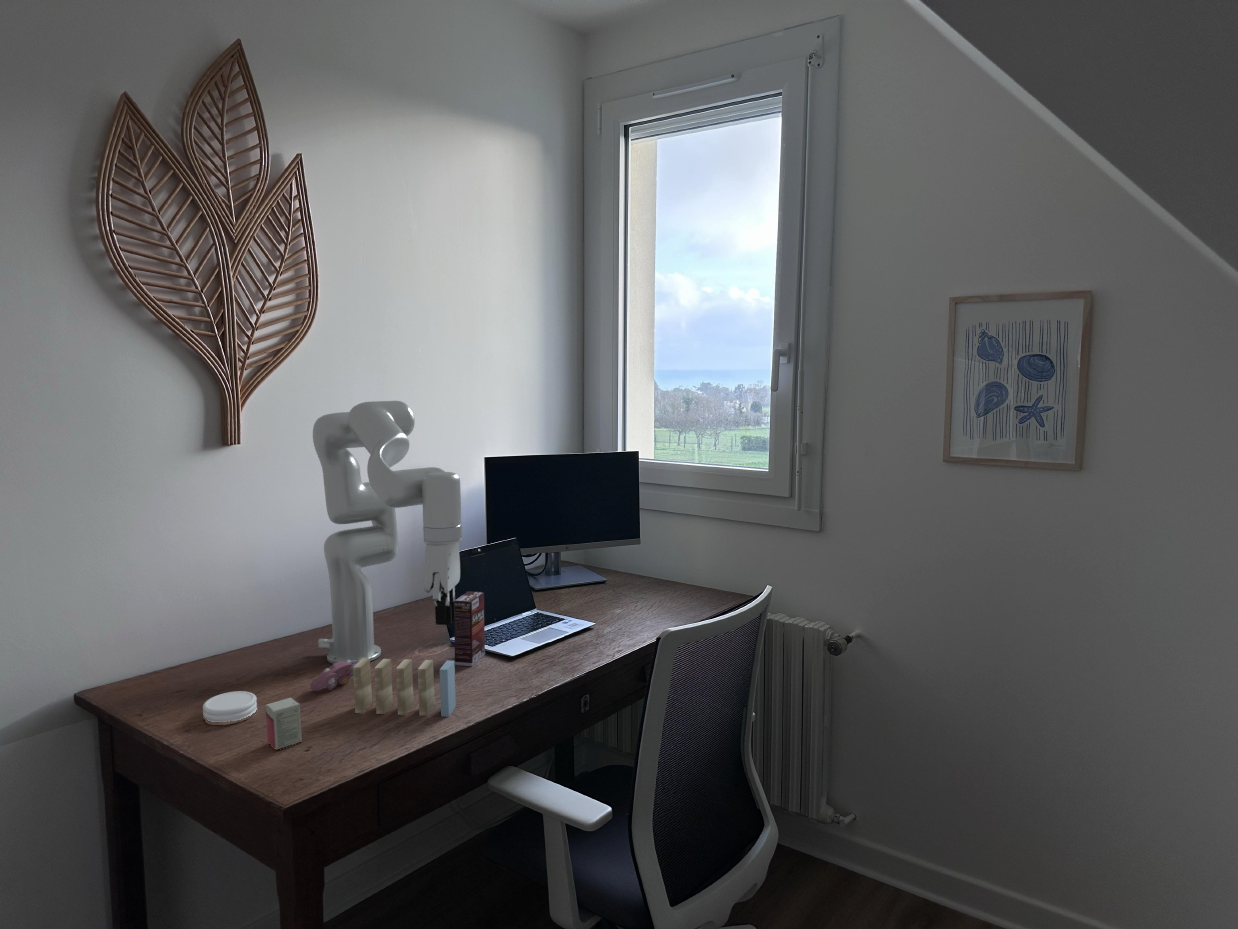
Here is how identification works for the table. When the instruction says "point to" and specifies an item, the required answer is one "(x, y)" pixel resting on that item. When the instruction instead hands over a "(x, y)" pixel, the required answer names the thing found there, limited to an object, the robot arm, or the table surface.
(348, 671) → the pink toy car
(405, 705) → the domino
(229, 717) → the white round lid
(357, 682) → the domino
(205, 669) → the table surface
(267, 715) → the small box
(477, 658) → the supplement box
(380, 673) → the domino
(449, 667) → the end domino
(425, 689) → the domino
